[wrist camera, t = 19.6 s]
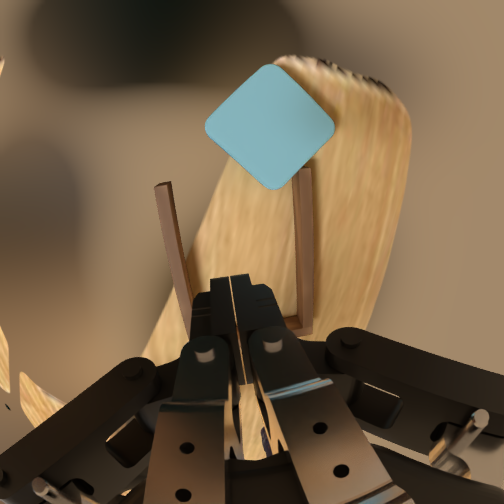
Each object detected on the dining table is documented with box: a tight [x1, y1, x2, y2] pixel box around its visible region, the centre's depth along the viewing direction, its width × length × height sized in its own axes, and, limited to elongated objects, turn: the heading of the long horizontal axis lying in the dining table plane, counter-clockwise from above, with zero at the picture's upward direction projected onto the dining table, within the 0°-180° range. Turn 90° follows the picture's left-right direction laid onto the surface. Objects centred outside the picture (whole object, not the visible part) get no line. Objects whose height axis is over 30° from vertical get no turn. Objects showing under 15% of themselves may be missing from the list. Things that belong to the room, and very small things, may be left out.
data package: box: [205, 64, 335, 190], centre depth 31 cm, size 12×4×12 cm
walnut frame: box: [154, 166, 314, 347], centre depth 38 cm, size 19×26×4 cm
